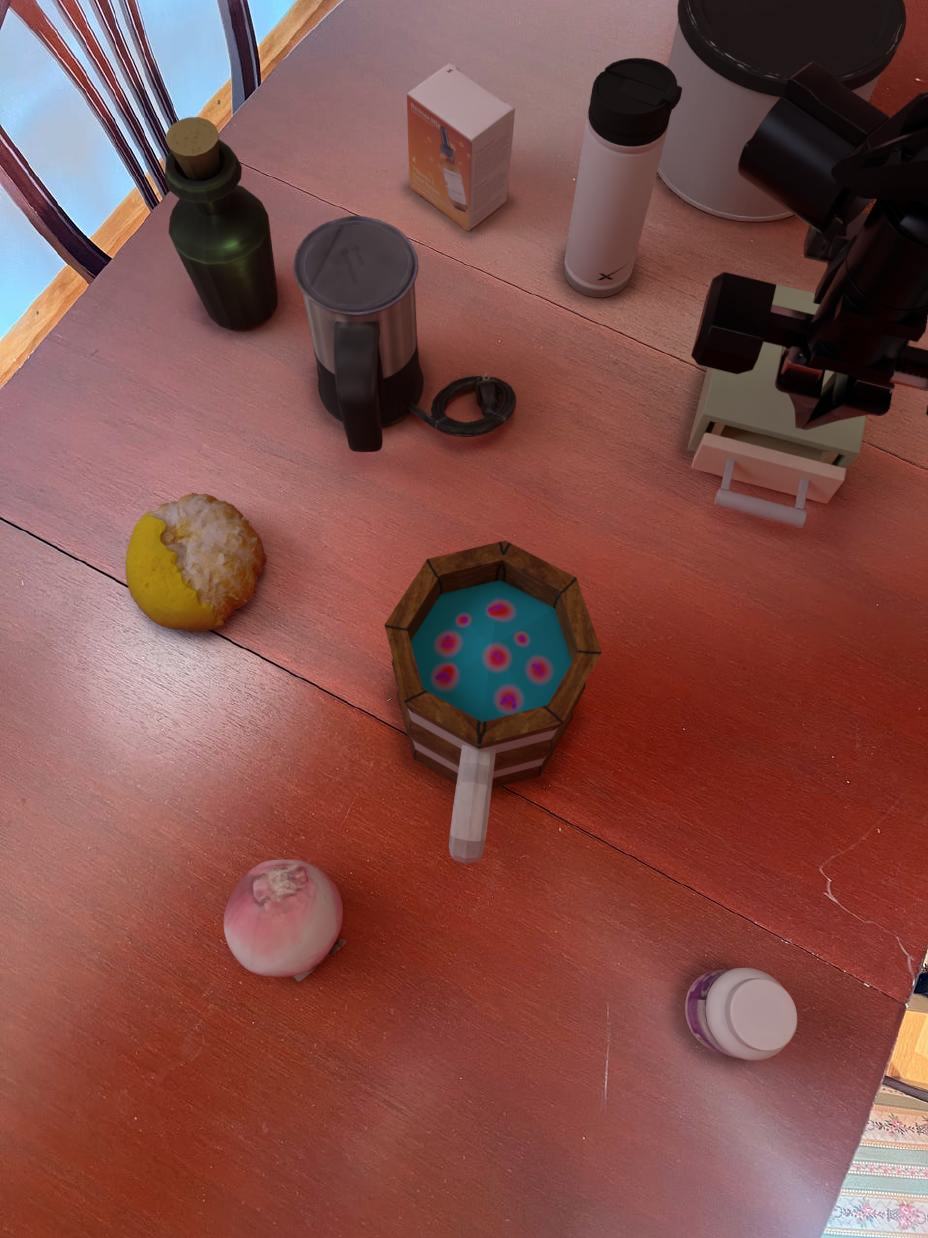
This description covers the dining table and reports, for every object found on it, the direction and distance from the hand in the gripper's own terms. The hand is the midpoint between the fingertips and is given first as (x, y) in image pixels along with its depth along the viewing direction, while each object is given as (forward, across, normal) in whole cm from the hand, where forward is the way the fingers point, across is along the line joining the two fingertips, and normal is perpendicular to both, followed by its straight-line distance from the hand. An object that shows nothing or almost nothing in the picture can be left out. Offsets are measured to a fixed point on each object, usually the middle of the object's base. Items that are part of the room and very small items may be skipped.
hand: (801, 423), depth 68 cm
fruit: (+12, +41, +19) cm, 47 cm away
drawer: (+11, 0, -6) cm, 13 cm away
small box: (+12, +33, -25) cm, 43 cm away
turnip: (+12, +25, +42) cm, 51 cm away
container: (+12, +8, -39) cm, 41 cm away
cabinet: (+12, 0, -11) cm, 16 cm away
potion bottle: (+12, +48, -7) cm, 50 cm away
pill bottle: (+12, -5, +39) cm, 41 cm away
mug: (+12, +16, +26) cm, 33 cm away
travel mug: (+12, +18, -20) cm, 29 cm away
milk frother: (+12, +30, -2) cm, 32 cm away
